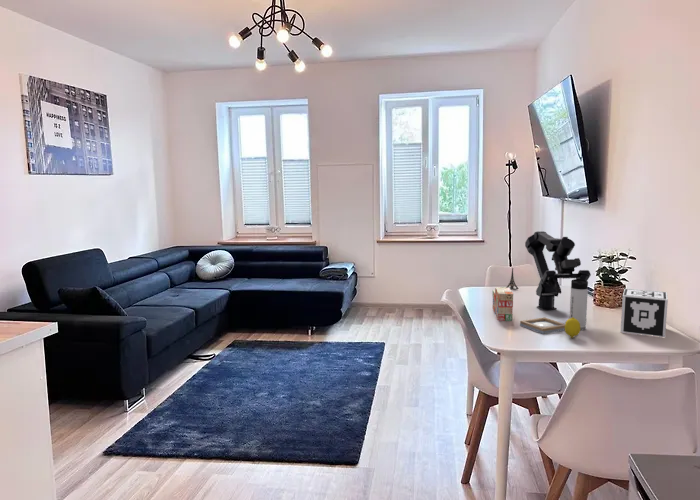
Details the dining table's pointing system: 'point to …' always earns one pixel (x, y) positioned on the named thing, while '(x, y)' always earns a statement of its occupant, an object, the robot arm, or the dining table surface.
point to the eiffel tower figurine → (511, 283)
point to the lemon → (572, 327)
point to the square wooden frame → (543, 325)
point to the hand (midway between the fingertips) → (571, 292)
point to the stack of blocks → (503, 304)
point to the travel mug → (579, 301)
